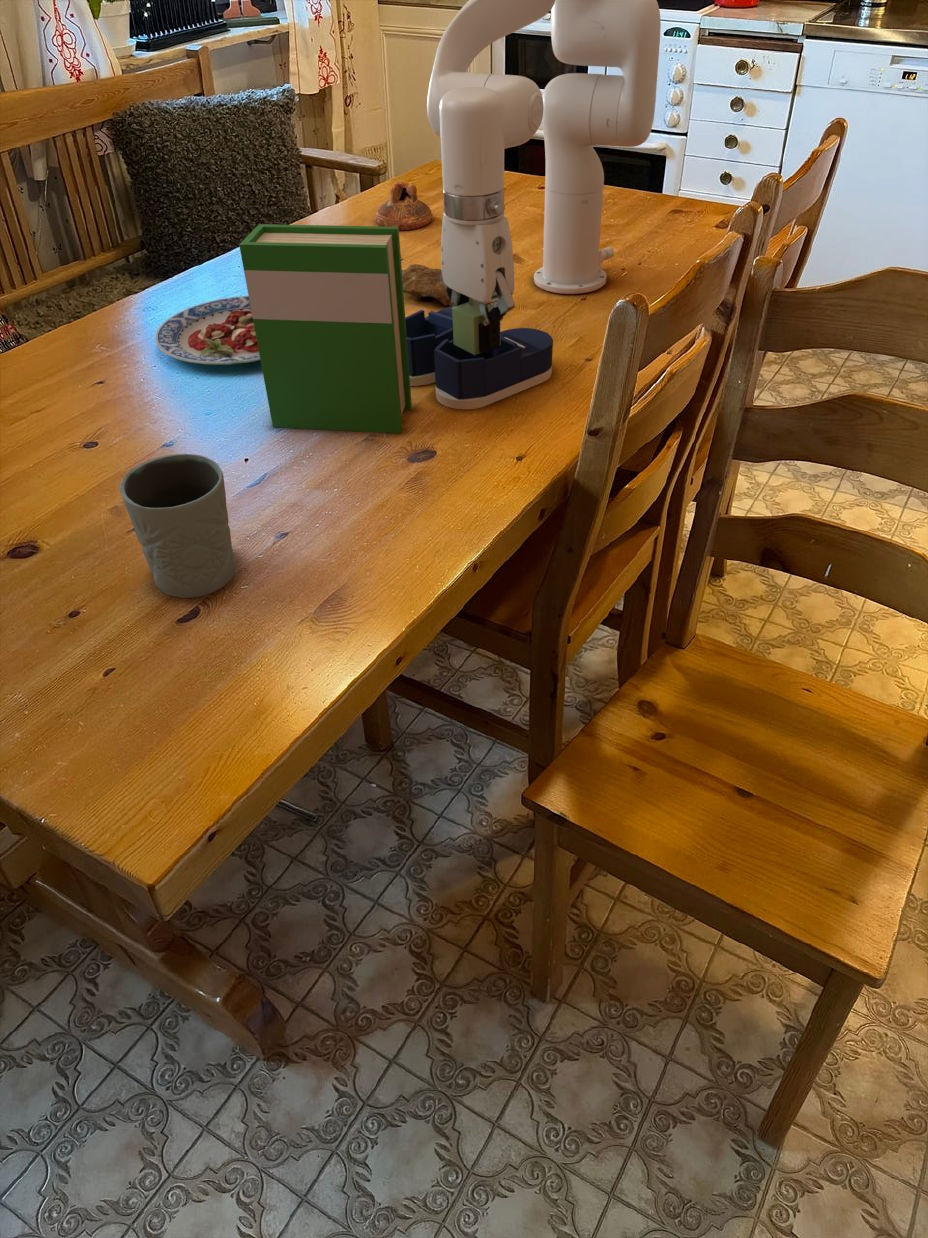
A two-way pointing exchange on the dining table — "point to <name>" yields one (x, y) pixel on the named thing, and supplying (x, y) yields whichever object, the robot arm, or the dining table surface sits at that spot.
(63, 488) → the dining table surface
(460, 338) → the green block
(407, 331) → the sneaker
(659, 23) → the robot arm
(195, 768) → the dining table surface
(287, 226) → the hardback book
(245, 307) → the ceramic plate
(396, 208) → the bell
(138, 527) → the grey embossed cup
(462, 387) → the sneaker
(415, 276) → the decorative rock
